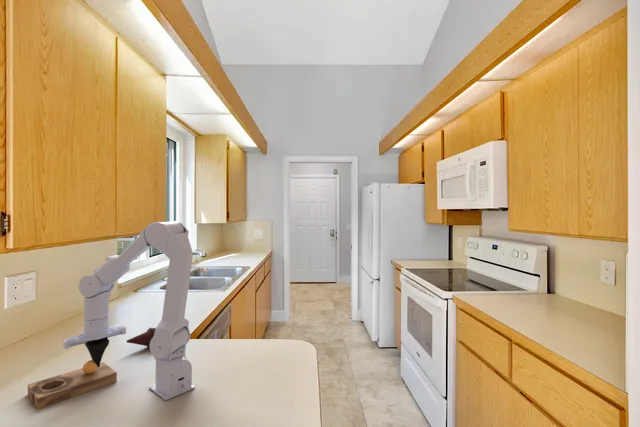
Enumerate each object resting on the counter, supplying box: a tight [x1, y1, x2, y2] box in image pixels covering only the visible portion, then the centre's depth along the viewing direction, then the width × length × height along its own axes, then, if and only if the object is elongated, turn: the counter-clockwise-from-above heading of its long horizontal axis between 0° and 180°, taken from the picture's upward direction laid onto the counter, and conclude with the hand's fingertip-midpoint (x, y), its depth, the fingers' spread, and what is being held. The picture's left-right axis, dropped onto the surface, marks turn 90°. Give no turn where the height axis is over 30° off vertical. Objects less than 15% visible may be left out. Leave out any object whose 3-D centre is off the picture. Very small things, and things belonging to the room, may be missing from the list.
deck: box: [27, 361, 118, 410], centre depth 90 cm, size 10×17×2 cm, turn 141°
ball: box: [82, 359, 97, 374], centre depth 93 cm, size 3×3×3 cm
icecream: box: [126, 327, 156, 350], centre depth 116 cm, size 7×8×15 cm
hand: (96, 366), depth 94 cm, fingers closed, pressing on ball
